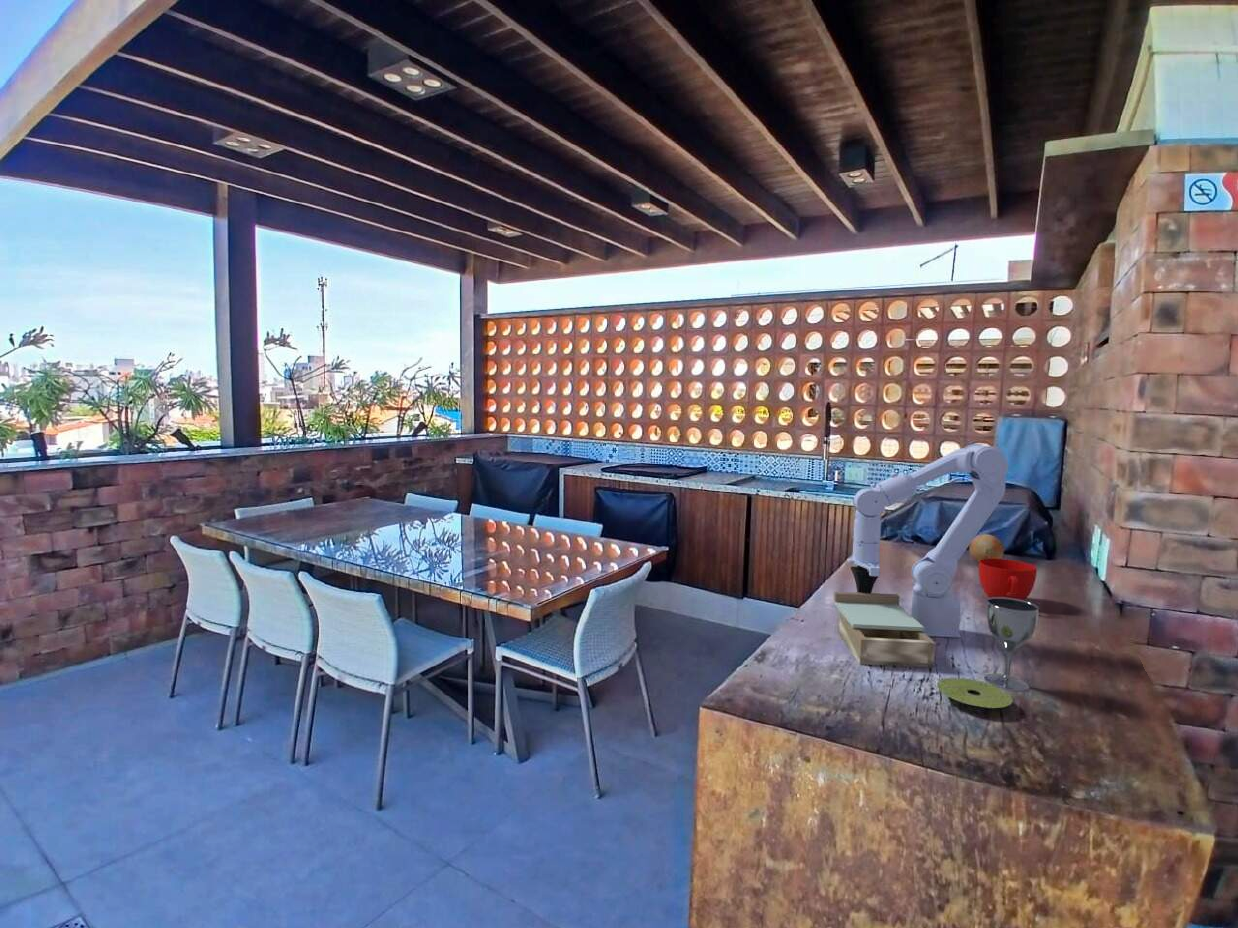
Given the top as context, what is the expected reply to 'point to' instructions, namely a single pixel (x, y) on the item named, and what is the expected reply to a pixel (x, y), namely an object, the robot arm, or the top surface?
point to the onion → (986, 547)
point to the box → (888, 646)
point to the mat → (974, 692)
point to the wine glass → (1010, 634)
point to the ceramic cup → (1006, 578)
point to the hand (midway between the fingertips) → (863, 598)
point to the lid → (875, 611)
